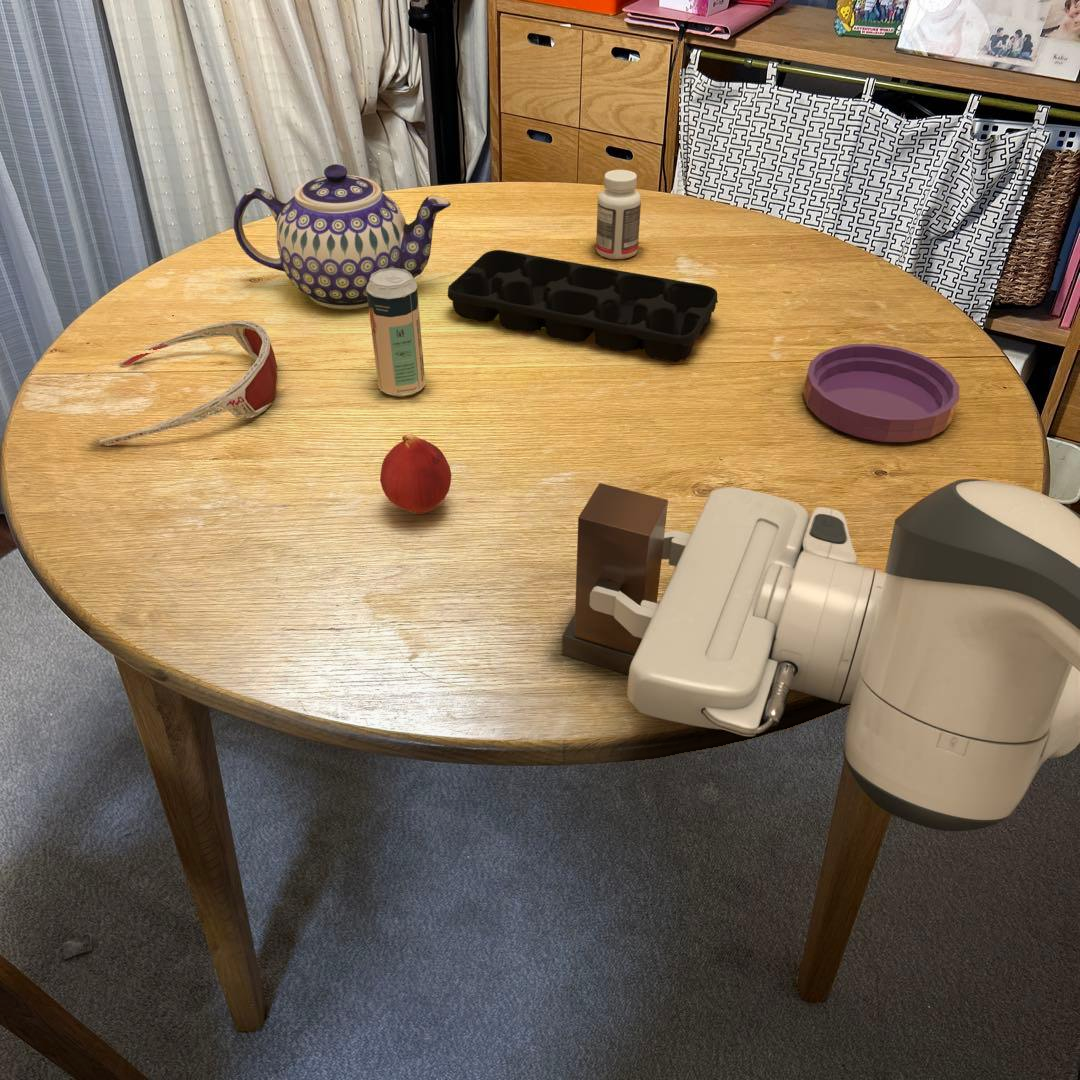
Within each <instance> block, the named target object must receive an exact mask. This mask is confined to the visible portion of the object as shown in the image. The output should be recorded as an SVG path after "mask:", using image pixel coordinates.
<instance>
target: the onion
mask: <svg viewBox="0 0 1080 1080" xmlns="http://www.w3.org/2000/svg"><path fill="white" fill-rule="evenodd" d="M401 439H402V441H400V442H398V443H397V444H395V445H394V446H393V447H392V448H391V449H390V451H388V453H387V454H386V455H385V457H384V458H383V460H382V463H381V469H380V475H379V477H380V478H379V482H380V485H381V489H382V491H383V493H384V495H385V497H386V498H387V499H388V501H389V502H390V503H392V504H393V505H394V506H396V507H398V508H399V509H402V510H404V511H408V512H410V513H413V514H414V515H422V514H424V513H425V514H426V513H427V512H430V511H433V510H435V508H437V507H439V505H440V504H442V503H443V502H444V500H445V499H446V497H447V495H448V493H449V491H450V488H451V483H452V471H451V467H450V464H449V462H448V460H447V458H446V456H445V454H444V453H443V452H442V450H441V449H440V448H439V447H438V446H436V445H435V444H433V443H431V442H429V441H427V440H425V439H423V438H420V437H417V436H415V435H414V434H413V433H407V434H404V435H403V436H401Z"/></svg>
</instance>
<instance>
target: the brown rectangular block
mask: <svg viewBox="0 0 1080 1080" xmlns="http://www.w3.org/2000/svg"><path fill="white" fill-rule="evenodd" d="M668 505H669V500H668V499H667V498H662V497H658V496H654V495H650V494H646V493H642V492H637V491H634V490H630V489H626V488H621V487H619V486H618V487H617V486H614V485H610V484H605V483H601V482H599V483H598V484H597V486H596V488H595V490H594V491H593V493H591V496H590V497H589V499H588V501H587V502H586V504H585V506H584V507H583V509H582V510H581V513H580V514H579V515H578V517H577V540H576V541H577V543H576V544H577V545H576V571H575V605H574V606H575V607H574V613H573V615H572V617H571V619H570V620H569V623H568V625H567V626H566V628H565V630H564V632H563V633H562V636H561V639H562V640H561V654H562V655H563V656H567V657H570V658H573V659H576V660H579V661H582V662H585V663H589V664H592V665H596V666H598V667H602V668H606V669H609V670H612V671H615V672H618V673H622V674H625V675H627V676H629V670H630V665H631V662H632V660H633V658H634V656H635V654H636V651H637V649H638V647H639V645H640V643H641V641H642V638H638V637H635V636H633V635H632V634H631V633H630V632H629V631H628V630H627V629H626V628H625V627H624V626H622V625H621V624H620V623H619V622H618V621H617V620H616V619H615V618H614V616H612V615H609V614H605V613H602V612H599V611H595V610H593V609H592V608H591V607H590V593H591V591H592V589H593V587H594V585H595V584H596V582H597V580H598V579H600V578H605V579H608V580H609V581H616V582H619V583H623V584H622V593H623V594H625V595H626V596H627V597H629V598H630V599H631V600H633V601H634V602H635V603H637V604H638V605H640V604H641V602H642V601H643V600H646V601H650V602H654V603H657V604H658V596H659V587H660V578H661V568H662V560H663V559H662V552H663V543H664V534H665V532H666V523H667V516H668V515H667V514H668V507H669V506H668Z"/></svg>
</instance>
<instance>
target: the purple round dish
mask: <svg viewBox="0 0 1080 1080" xmlns="http://www.w3.org/2000/svg"><path fill="white" fill-rule="evenodd" d="M802 395H803V398H804V400H805V401H804V402H805V404H806V406H807V408H808V410H810V411H811V412H812V413H813V414H814V415H815V416H816V417H817V418H818V419H819V420H820V421H821V422H823V423H825V424H827V425H829V426H830V427H832V428H834V429H835V430H837V431H840V432H841V433H843V434H847V435H850V436H852V437H856V438H859V439H863V440H868V441H873V442H880V443H910V442H915V441H920V440H925V439H930V438H932V437H934V436H935V435H938V434H939V433H942V432H944V431H945V430H946V429H947V427H948V426H949V425H950V424H951V422H952V421H953V419H954V415H955V412H956V409H957V406H958V403H959V402H960V401H959V400H960V385H959V383H958V381H957V380H956V378H955V377H954V375H953V373H951V372H950V371H949V370H947V369H946V368H945V367H944V366H943V365H941V364H940V363H939V362H937V361H935V360H933V359H931V358H929V357H927V356H925V355H923V354H921V353H918V352H915V351H912V350H908V349H905V348H902V347H898V346H891V345H886V344H878V343H851V344H845V345H838V346H834V347H831V348H829V349H827V350H823V351H821V352H819V353H818V354H817V355H815V357H814V358H813V359H812V360H811V361H810V362H809V365H808V369H807V373H806V377H805V382H804V388H803V393H802Z"/></svg>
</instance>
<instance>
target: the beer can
mask: <svg viewBox="0 0 1080 1080" xmlns="http://www.w3.org/2000/svg"><path fill="white" fill-rule="evenodd" d="M366 290H367V298H368V313H369V320H370V321H369V322H370V330H371V337H372V346H373V354H374V361H375V362H374V363H375V369H376V377H377V378H376V380H377V386H378V389H380V391H381V392H382V393H384V394H387V395H389V396H392V397H398V398H399V397H400V398H401V397H409V396H412V395H414V394H416V393H418V392H420V391H422V389H423V388H424V387H425V386H426V376H425V364H424V351H423V341H422V329H421V328H422V327H421V319H420V305H419V295H418V283H417V281H416V280H415V278H413V277H412V275H411V273H409V272H408V271H406V270H405V269H398V268H388V269H380V270H378V271H376V272H375V273H373V274H371V277H370V281H369V283H368V284H367V287H366Z"/></svg>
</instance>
